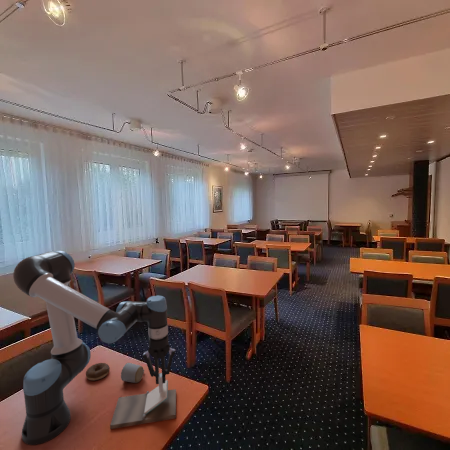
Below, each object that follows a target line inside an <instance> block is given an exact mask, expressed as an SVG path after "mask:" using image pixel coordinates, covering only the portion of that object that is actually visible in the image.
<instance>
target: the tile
mask: <svg viewBox="0 0 450 450" xmlns="http://www.w3.org/2000/svg"><path fill="white" fill-rule="evenodd" d="M168 390H169V380H168V379H166V381H165V383H163V392H162V393H159V385H158V386H156V387H155V388H154V389H152V390H151V391H149V393H148V394H147V398H146V405H145V411H144V413H145V415H146V414H147V413H149V412H150V411H151V410H153V409H154V408H155V407H157V406H158V405H159V404H161V403H162V402H163V401H165V400H166V399H167V394H168Z"/></svg>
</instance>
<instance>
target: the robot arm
mask: <svg viewBox="0 0 450 450" xmlns="http://www.w3.org/2000/svg"><path fill="white" fill-rule="evenodd" d="M75 265H76V264H75V260H74V259H73V257H72V256H71V255H70V254H69V253H67V251H64V250H52V251H47V252H44V253H39V254H36V255H33V256H28V257H26V258H23V259H21V261H19V262H18V263H17V264H16V266H15V267H14V270H13V273H12V275H13V281H14V283H15V285H16V287H17V288H18V289H19V290H20V291H21V292H23V294H26V295H27V296H29V297H31V298H39V299H41V300H43V301H44V302H45V306H46V310H47V311H46V312H47V315H48V321H49V327H50V332H51V337H52V343H53V347H52V348H51V350H50V355H51V358H50V359H46V360H43V361H41V362H38V363H37V364H35V365H33V366H32V367H30V369H28V370H27V372H26V373H25V375H24V376H23V384H22V385H23V386H22V392H23V397H24V405H25V414H26V415H25V419H24V422H23V426H22V428H21V438H22V442H23V443H24V444H26V445H31V446H35V445H40V444H43V443H46V442H49V441H51V440H53V439H54V438H56V437H57V436H59V434H61V433H62V432H63V431H64V430H65V429H66V428H67V427H68V426H69V423H70V422H71V410H70V408H69V406H68V405H67V403H66V401H65V398H64V388H66V387H67V386H68V385H69V384H70V383H71V382H72V381H73V380H74V379H75V378H76V377H78V375H79V374H80V373H82V372H83V371H84V369H85V368H86V367H87V366H88V364H89V363H90V362H91V361H90V360H91V356H92V355H91V353H92V352H91V349H90V347H89V346H88V345H87V343H85V342H84V341H83V340H82V339H80V338H78V333H77V328H76V322H75V318H76V319H77V320H79V321H81V322H83V323H84V324H87V325H88V326H90V327H92V328H94V329H96V330H97V333H98V337H99V338H100V340H101V342H103V343H105V344H114V343H116V342H117V341H119V340H120V339H121V338H122V337H123V336H124V335H125V334H126V333H127V332H128V330H130V328H131V327H132V326H133V325H135V324H136V322H143V323H145V322H146V323H147V328H148V329H147V330H148V331H147V332H148V345H149V346H148V349H147V351H144V352H143V354H142V358H143V359H144V360H145V362H146V366H147V369H148V371H149V375H150V377H151V378H152V377H154V378H155V385H158V386H159V393H162V392H163V383H165V381H166V380H167V379H166V376H167V375H169V374H171V373H170V372H171V367H172V362H173V358H174V356H175V354H176V348H172V347H171V345H170V344H169V334H168V333H169V325H168V324H169V323H168V305H167V299H166V297H165V296H163V295H151V296H149V297H148V298H147V299H146V301H132V300H126V301H122V302H119V304H118V306H117V307H116V311H114V310H111V309H110V308H108V307H106V306H104V305H103V304H101V303H99V302H98V301H96V300H94V299H92V298H90V297H88V296H87V295H85V294H83V293H82V292H80V291H77V290H76V289H73V288H72V287H70V286H69V285H70V282H71V281H72V278H71V274H72V273H73V272H74V270H75V267H76V266H75ZM167 354H169V356H168V360H167V361H168V362H167V367H166V361H165V360H166V359H165V357H166V356H167ZM150 356H151V357H152V358H153V359H154V365H153V364H152V363H153V362H152V360H151V357H150ZM159 359H160V364H161V365H160V366H161V373H160V369H159V368H160V367H159Z"/></svg>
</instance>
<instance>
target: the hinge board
mask: <svg viewBox="0 0 450 450" xmlns="http://www.w3.org/2000/svg"><path fill="white" fill-rule="evenodd" d="M148 393H150V391H148V390H147V391H146V393H142V394H141V393H139V394H134V395H133V394H132V395H127V396H121V397H120V396H118V399H117V402H116V404H115V409H114V411H113V416H112V418H111V422H110V424H109V425H110V430H113V429H118V428H125V427H131V426H137V425H143V424H149V423H154V422H155V423H157V422H161V421H167V420H173V419H177V389H176V388H175V389H174V388H173V389H168V394H167V399H166V400H165V401H163V402H162V403H161V404H159V405H158V406H157V407H155V408H154V409H153V410H151V411H150V412H149V413H147V414H146V415H145V413H144V411H145V405H146V398H147V394H148Z"/></svg>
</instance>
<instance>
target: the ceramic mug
mask: <svg viewBox="0 0 450 450" xmlns="http://www.w3.org/2000/svg"><path fill="white" fill-rule="evenodd" d="M144 373H145V369H144V367H143V366H142V365H140V364H135V363H133V362H127V363H125V364H124V365H123V367H122V369H121V372H120V379H121V381H123V382H127V383H133V384H138V383H140V381H141V380H142V378H143V376H144Z"/></svg>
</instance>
